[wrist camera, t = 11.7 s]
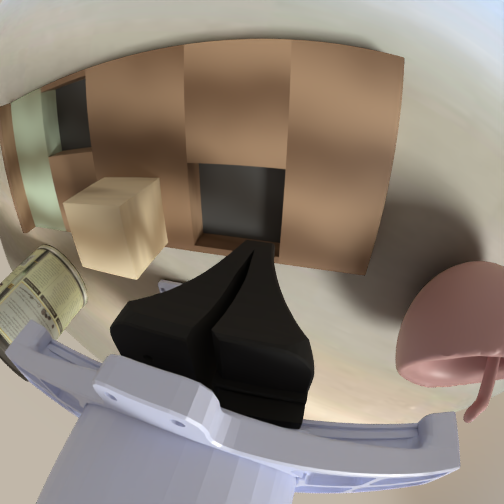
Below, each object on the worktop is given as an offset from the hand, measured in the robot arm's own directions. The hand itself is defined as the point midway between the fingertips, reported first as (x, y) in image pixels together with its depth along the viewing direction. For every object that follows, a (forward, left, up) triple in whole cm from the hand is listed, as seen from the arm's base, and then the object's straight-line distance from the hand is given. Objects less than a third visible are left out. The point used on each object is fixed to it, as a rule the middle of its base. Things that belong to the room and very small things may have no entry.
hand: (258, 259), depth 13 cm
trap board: (+3, +10, -7) cm, 12 cm away
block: (-1, +10, -5) cm, 11 cm away
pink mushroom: (-6, -15, -7) cm, 18 cm away
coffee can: (-13, +28, -7) cm, 31 cm away
